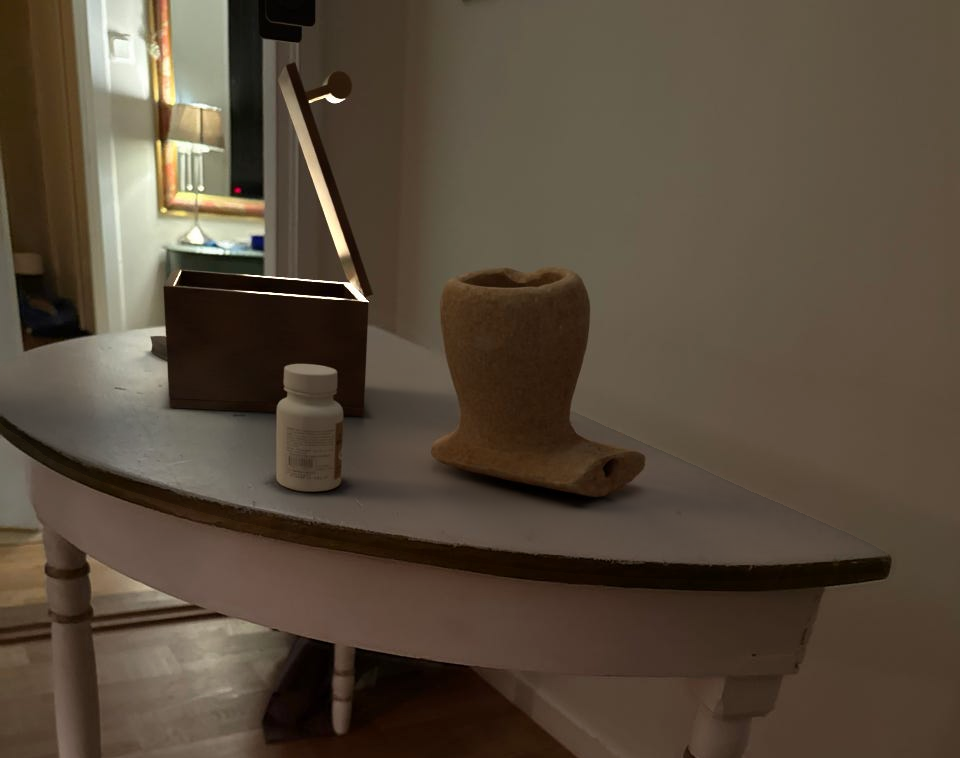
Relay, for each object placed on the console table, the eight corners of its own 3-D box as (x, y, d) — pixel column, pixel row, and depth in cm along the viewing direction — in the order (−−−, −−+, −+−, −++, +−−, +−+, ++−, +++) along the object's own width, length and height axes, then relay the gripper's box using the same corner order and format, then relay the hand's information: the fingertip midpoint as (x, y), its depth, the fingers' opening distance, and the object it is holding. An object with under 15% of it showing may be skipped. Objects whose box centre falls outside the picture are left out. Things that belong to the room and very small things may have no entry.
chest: (169, 407, 77) (163, 285, 73) (177, 375, 89) (172, 268, 85) (363, 416, 82) (368, 301, 77) (347, 384, 93) (351, 283, 89)
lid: (285, 65, 68) (347, 44, 69) (277, 79, 80) (331, 61, 80) (364, 297, 77) (419, 278, 77) (347, 279, 89) (395, 262, 89)
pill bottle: (352, 489, 62) (357, 374, 59) (293, 496, 60) (294, 376, 56) (323, 471, 65) (326, 361, 62) (265, 476, 63) (265, 362, 60)
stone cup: (394, 473, 67) (407, 253, 60) (475, 446, 76) (494, 253, 70) (580, 524, 61) (617, 285, 54) (644, 487, 70) (682, 280, 63)
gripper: (219, -252, 63) (227, 39, 71) (223, -377, 49) (233, 8, 56) (327, -228, 65) (324, 52, 73) (363, -341, 51) (354, 25, 58)
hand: (285, 33), depth 65 cm, fingers open, 9 cm apart
